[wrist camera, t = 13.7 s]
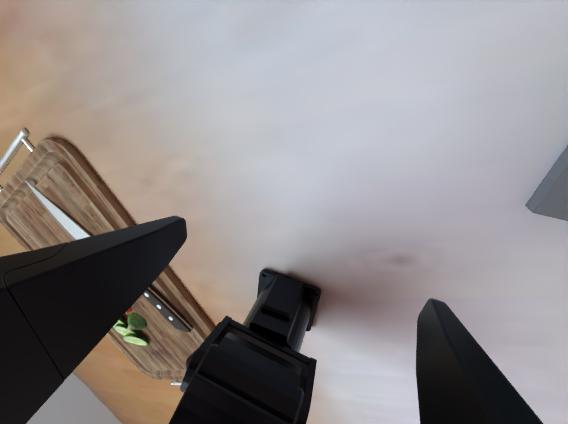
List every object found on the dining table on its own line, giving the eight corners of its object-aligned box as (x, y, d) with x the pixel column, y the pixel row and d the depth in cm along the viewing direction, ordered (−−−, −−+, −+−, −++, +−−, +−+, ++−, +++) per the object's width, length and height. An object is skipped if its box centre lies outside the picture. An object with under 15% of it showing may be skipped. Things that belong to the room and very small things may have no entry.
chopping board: (-16, 191, 40) (-43, 199, 38) (46, 102, 27) (10, 106, 24) (160, 380, 52) (148, 396, 50) (261, 382, 39) (253, 404, 37)
